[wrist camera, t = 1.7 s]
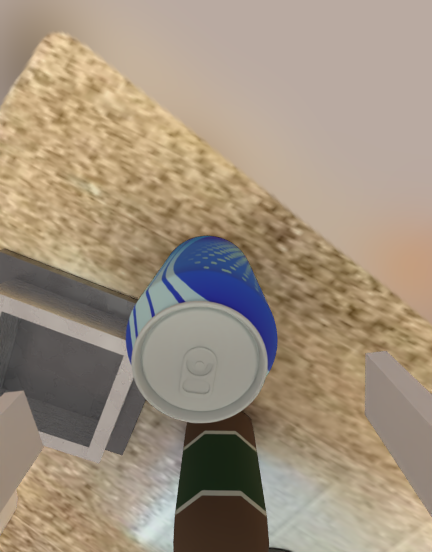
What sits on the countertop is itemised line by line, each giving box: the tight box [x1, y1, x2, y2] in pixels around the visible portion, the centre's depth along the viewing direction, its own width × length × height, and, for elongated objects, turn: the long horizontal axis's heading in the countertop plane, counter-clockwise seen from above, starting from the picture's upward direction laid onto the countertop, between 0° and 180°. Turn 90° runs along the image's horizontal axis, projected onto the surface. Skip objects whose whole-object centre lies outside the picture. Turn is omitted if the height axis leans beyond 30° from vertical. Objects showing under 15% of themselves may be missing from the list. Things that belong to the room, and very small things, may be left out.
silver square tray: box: [0, 249, 146, 463], centre depth 30 cm, size 18×18×4 cm
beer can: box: [126, 236, 277, 423], centre depth 22 cm, size 8×8×16 cm
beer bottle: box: [173, 411, 269, 552], centre depth 23 cm, size 8×8×24 cm
